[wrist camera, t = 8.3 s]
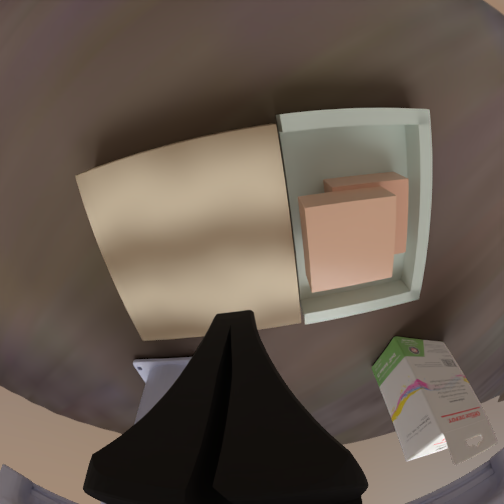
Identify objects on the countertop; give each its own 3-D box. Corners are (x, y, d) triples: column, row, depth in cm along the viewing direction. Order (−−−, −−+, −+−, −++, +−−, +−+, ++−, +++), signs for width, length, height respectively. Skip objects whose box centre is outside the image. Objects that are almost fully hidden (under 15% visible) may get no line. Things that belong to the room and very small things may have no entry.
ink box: (368, 368, 26) (410, 491, 13) (393, 334, 24) (454, 465, 10) (421, 370, 27) (465, 468, 14) (445, 340, 25) (502, 441, 12)
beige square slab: (296, 301, 21) (301, 322, 19) (150, 320, 22) (143, 340, 20) (271, 123, 15) (276, 124, 13) (94, 167, 16) (75, 176, 14)
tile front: (379, 260, 17) (391, 277, 15) (305, 274, 17) (311, 292, 15) (380, 185, 15) (396, 195, 13) (297, 196, 15) (304, 208, 13)
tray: (407, 284, 21) (418, 299, 19) (300, 305, 22) (305, 324, 20) (411, 108, 15) (429, 109, 13) (275, 115, 15) (279, 114, 13)
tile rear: (392, 239, 18) (405, 252, 17) (328, 251, 19) (336, 265, 17) (393, 171, 16) (408, 178, 14) (323, 179, 17) (332, 187, 15)
